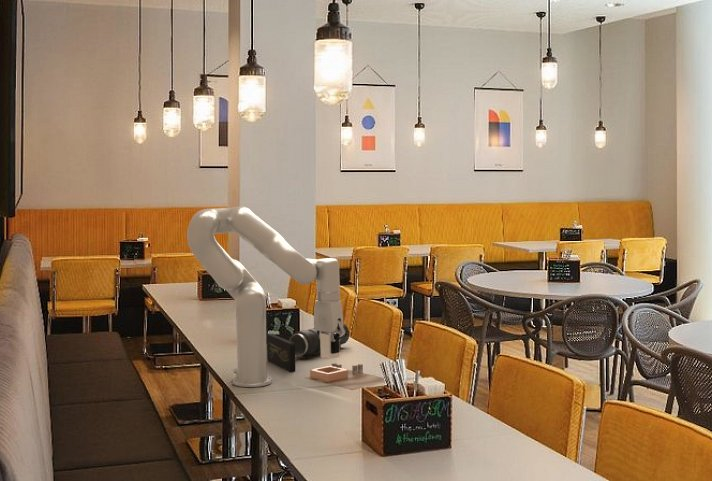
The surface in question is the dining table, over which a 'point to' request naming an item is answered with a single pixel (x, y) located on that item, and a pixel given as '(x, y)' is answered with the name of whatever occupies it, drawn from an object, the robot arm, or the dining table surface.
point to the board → (353, 378)
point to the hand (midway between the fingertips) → (330, 351)
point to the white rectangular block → (327, 346)
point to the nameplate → (281, 352)
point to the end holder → (329, 373)
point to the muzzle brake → (312, 342)
